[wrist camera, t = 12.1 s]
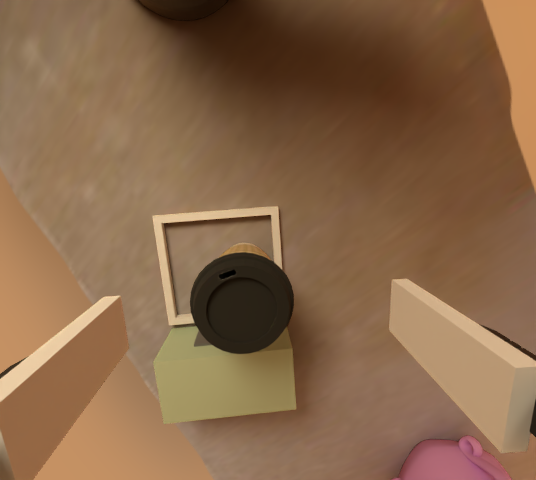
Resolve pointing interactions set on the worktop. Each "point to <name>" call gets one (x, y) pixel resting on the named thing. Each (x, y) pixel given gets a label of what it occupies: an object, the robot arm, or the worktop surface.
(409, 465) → the pink pot with handles
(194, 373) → the green block with frame
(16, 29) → the worktop surface
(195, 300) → the coffee cup
